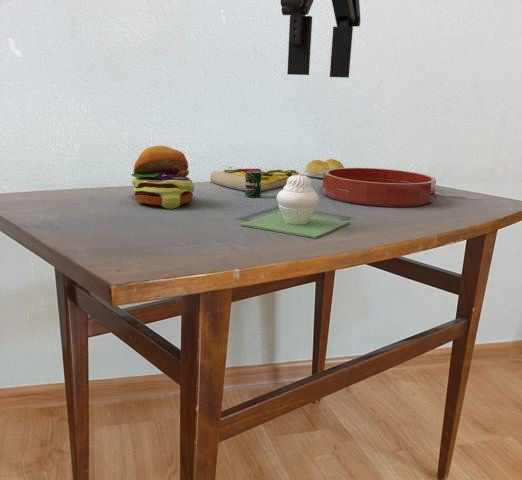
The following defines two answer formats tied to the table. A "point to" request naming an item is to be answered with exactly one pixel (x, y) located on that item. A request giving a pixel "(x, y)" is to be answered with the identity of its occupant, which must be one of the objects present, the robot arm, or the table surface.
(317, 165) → the bread roll
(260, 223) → the cloth
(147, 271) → the table surface
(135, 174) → the cheeseburger
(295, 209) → the muffin
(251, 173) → the beer can
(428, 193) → the pan
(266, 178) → the pizza slice
